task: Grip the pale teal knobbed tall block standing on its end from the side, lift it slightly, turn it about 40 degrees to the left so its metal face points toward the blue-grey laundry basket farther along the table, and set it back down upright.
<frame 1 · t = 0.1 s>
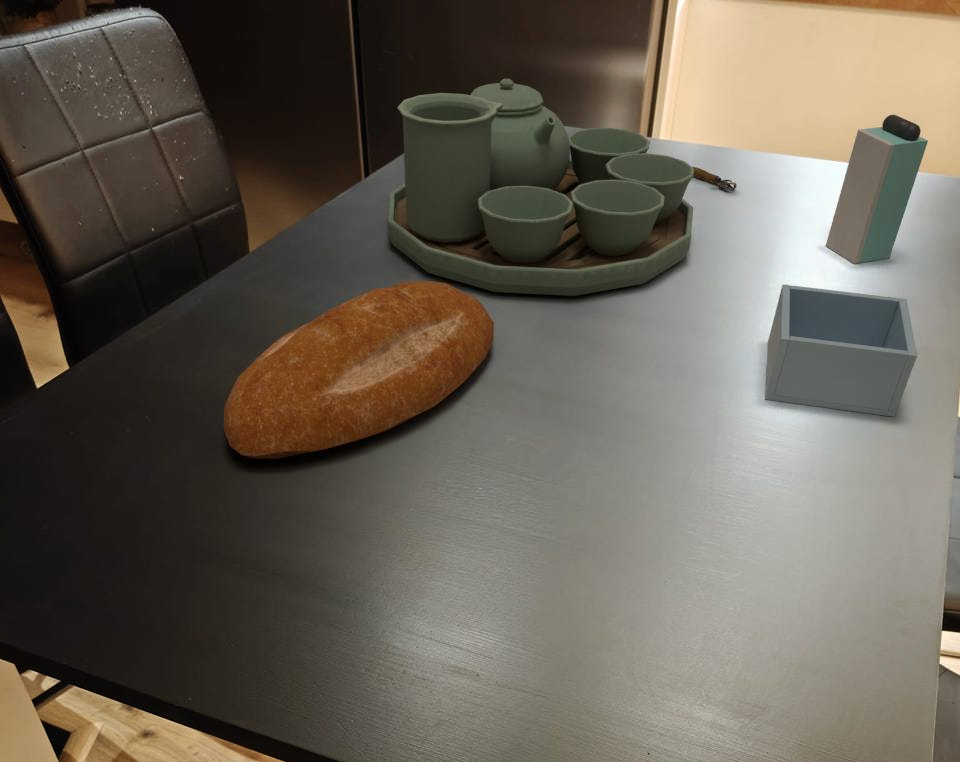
tea set: (539, 235, 124), on the table
bread: (369, 389, 95), on the table
can opener: (711, 184, 139), on the table
knobbed tall block: (839, 254, 121), on the table
basket: (827, 377, 98), on the table
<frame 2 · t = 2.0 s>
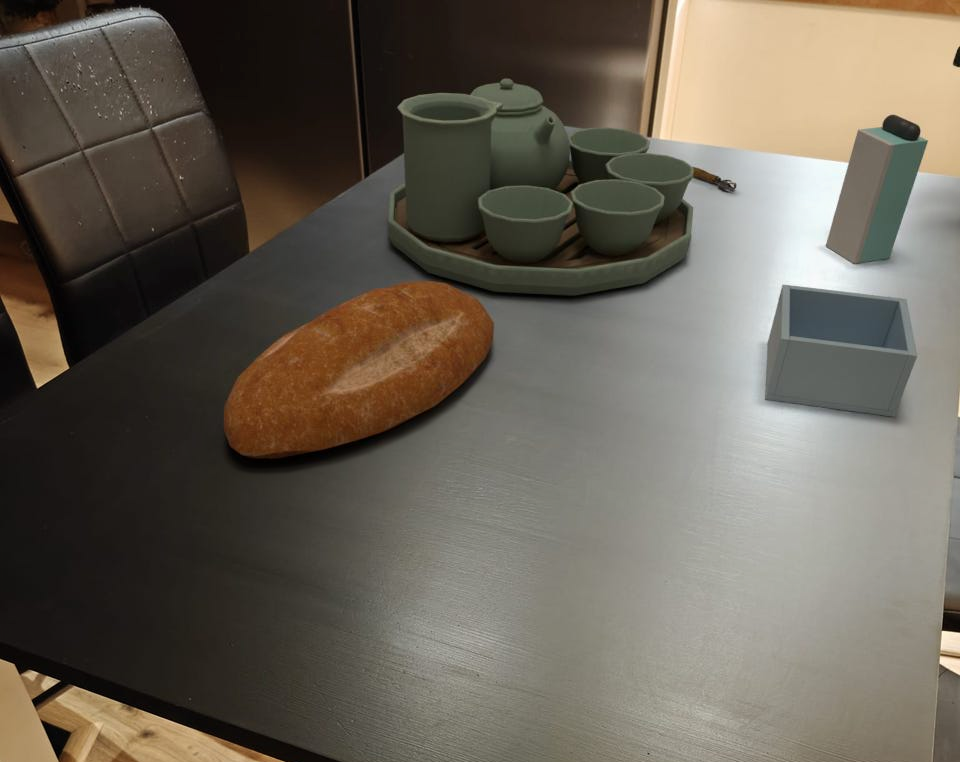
nothing on the table moved.
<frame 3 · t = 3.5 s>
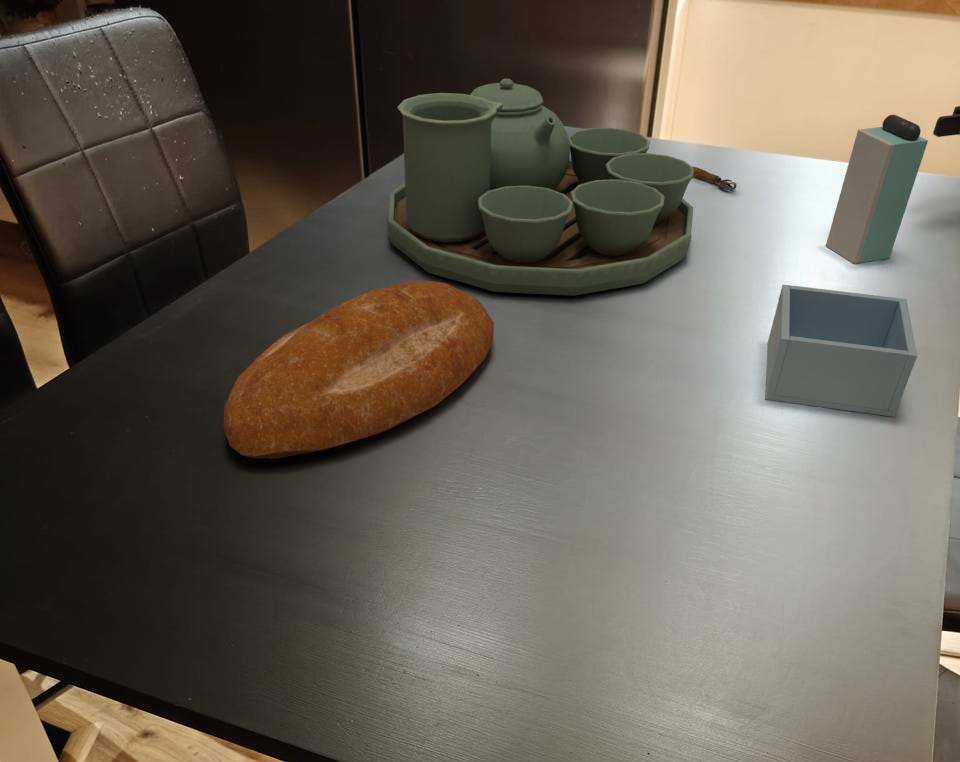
nothing on the table moved.
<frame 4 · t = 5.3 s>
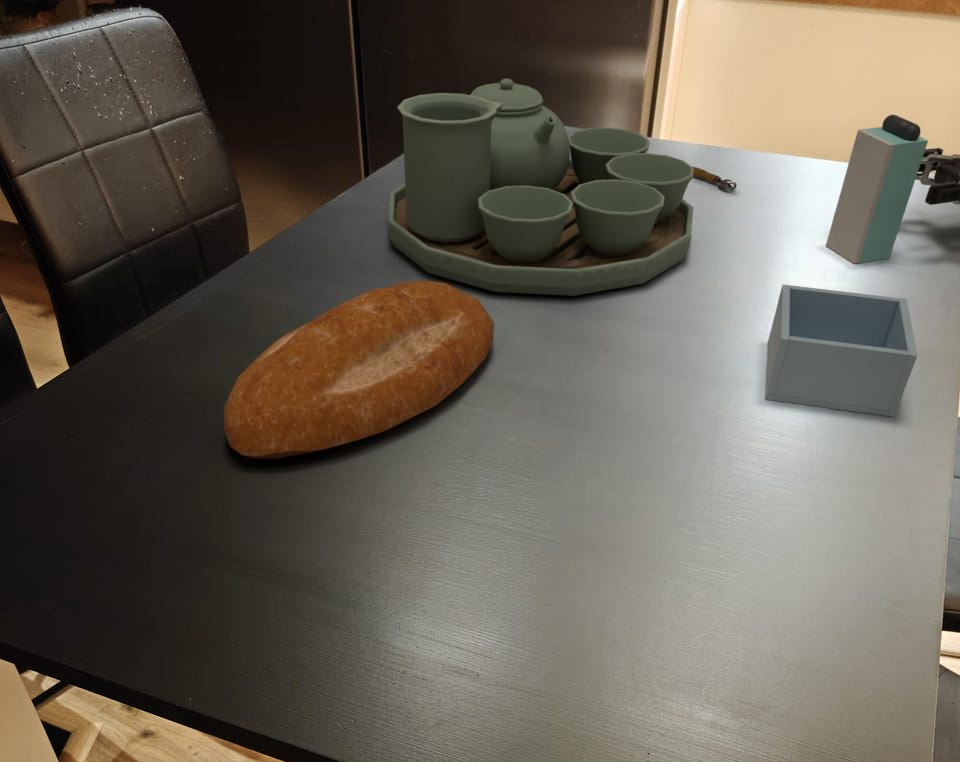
hand: (906, 183, 117), 8 cm above the table, tool horizontal, fingers open, 8 cm apart
nothing on the table moved.
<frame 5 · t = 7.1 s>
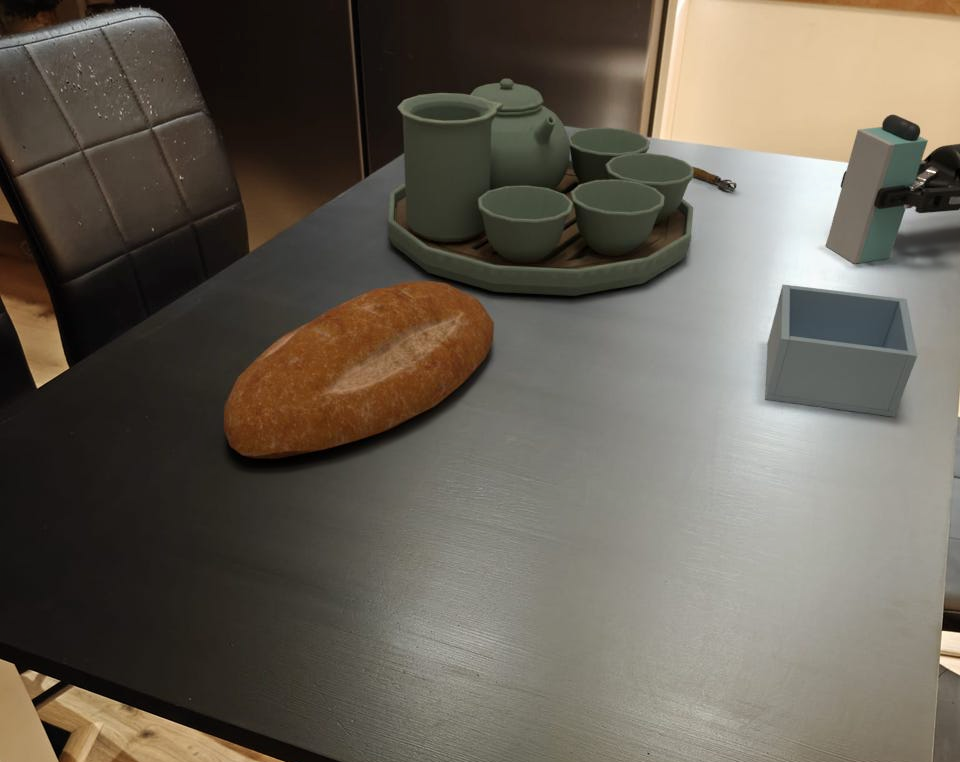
hand: (861, 189, 115), 8 cm above the table, tool horizontal, fingers closed on knobbed tall block, 6 cm apart
knobbed tall block: (839, 254, 121), on the table, touching gripper
everything else where it was.
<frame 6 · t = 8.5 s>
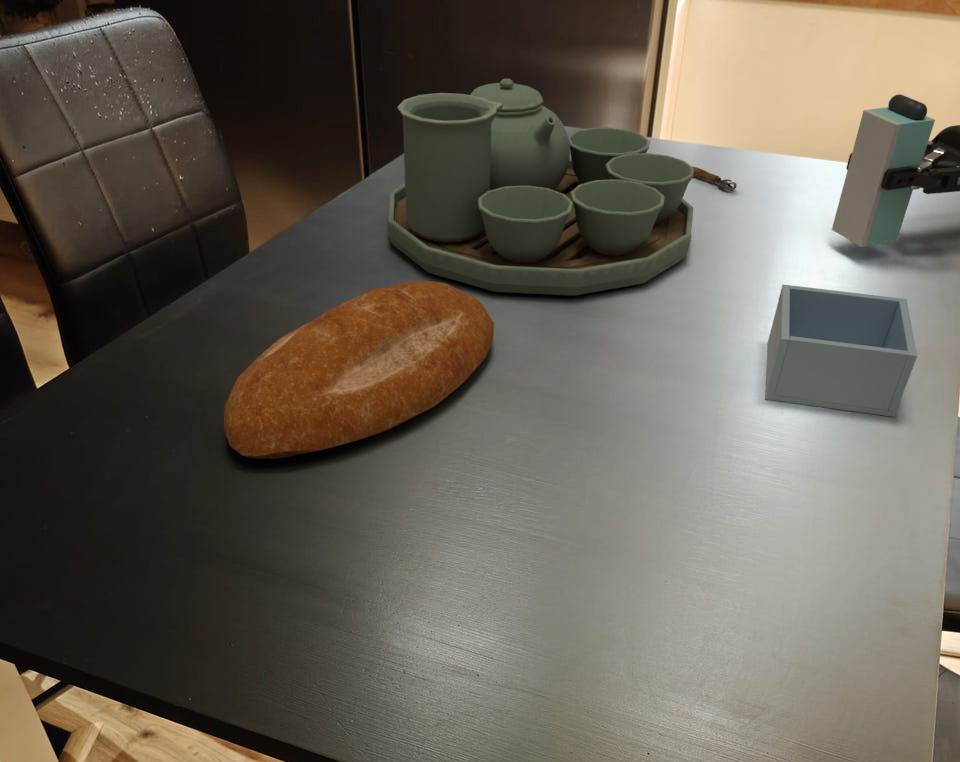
hand: (867, 171, 114), 10 cm above the table, tool horizontal, fingers closed on knobbed tall block, 6 cm apart
knobbed tall block: (845, 238, 119), point 2 cm above the table, touching gripper
everything else where it was.
when the fingers open (8 cm above the table, at t = 11.1 s): knobbed tall block stays where it is, on the table.
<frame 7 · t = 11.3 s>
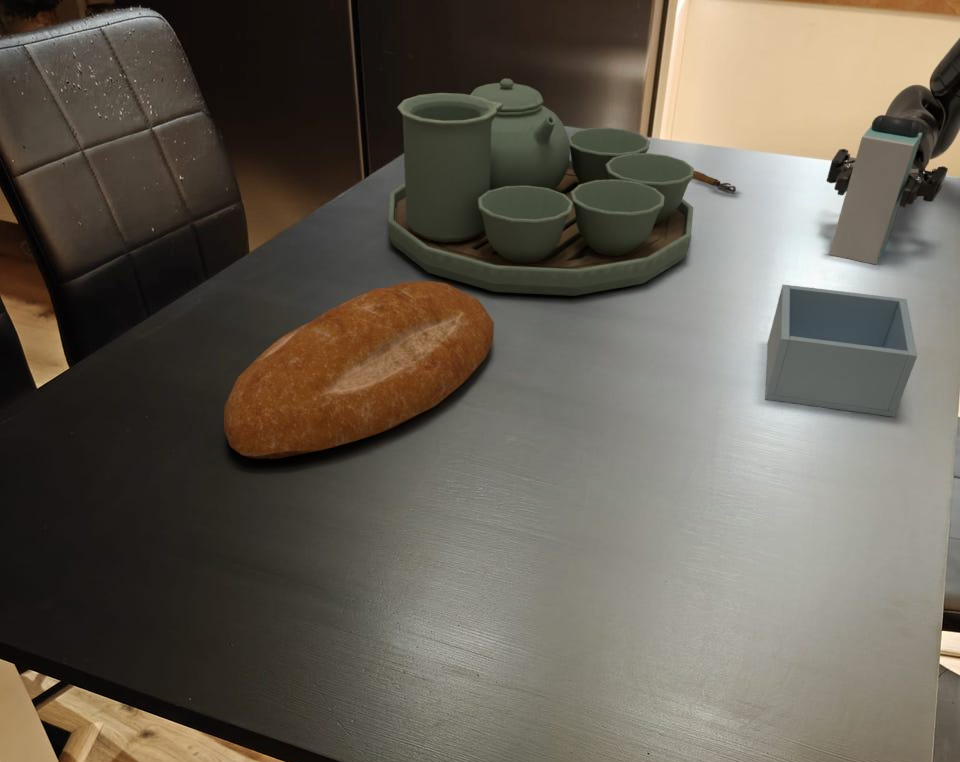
hand: (873, 192, 114), 8 cm above the table, tool horizontal, fingers open, 7 cm apart
knobbed tall block: (851, 259, 120), on the table
everything else where it was.
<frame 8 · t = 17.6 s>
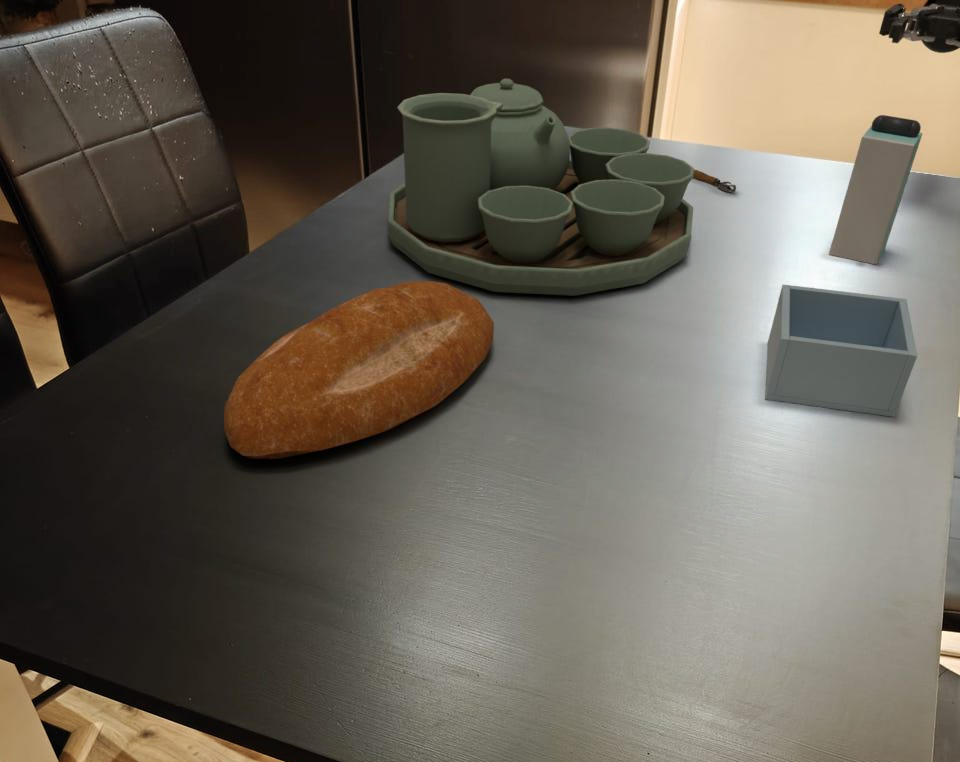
hand: (933, 38, 113), 22 cm above the table, tool horizontal, fingers open, 8 cm apart
nothing on the table moved.
at the end: knobbed tall block 0.8 cm from the target spot on the table beside the basket, on the table; knobbed tall block tilted 0°; the gripper is holding nothing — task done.
